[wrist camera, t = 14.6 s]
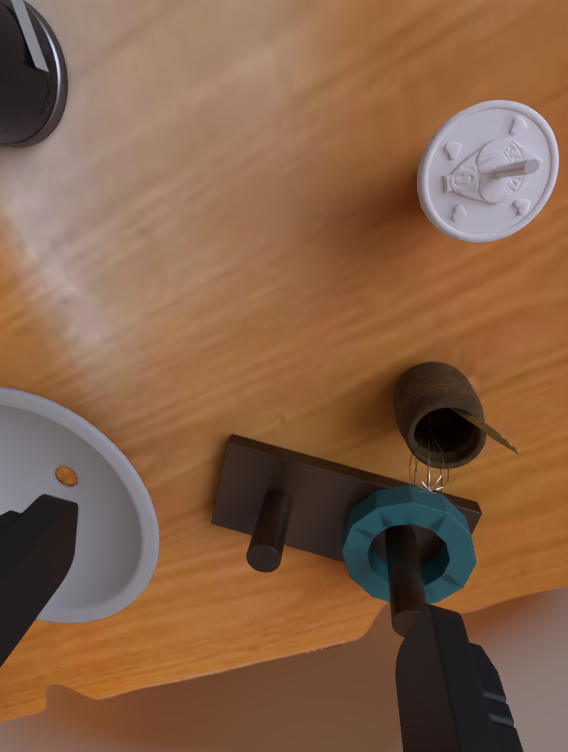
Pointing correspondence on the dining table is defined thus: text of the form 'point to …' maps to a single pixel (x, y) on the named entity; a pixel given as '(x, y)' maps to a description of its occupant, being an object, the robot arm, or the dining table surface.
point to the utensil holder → (441, 418)
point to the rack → (321, 516)
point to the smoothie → (488, 171)
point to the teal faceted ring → (418, 510)
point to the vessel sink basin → (80, 504)
